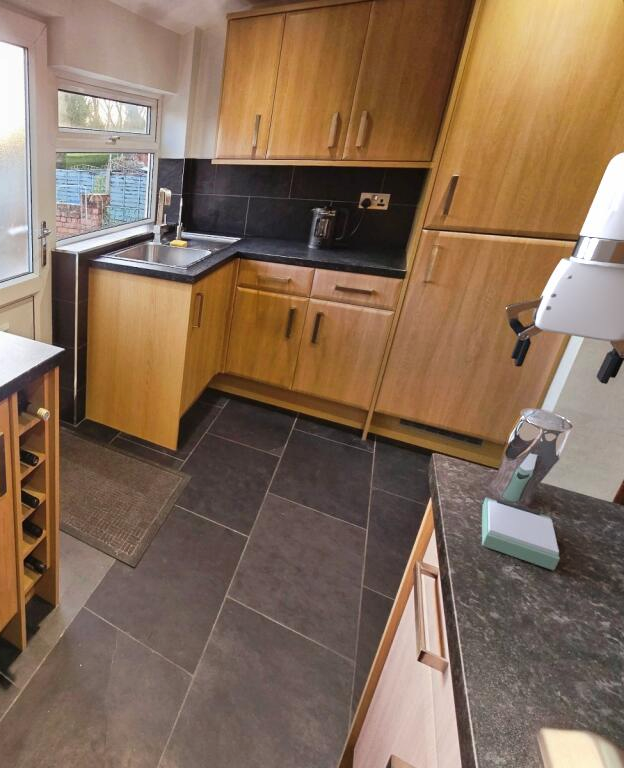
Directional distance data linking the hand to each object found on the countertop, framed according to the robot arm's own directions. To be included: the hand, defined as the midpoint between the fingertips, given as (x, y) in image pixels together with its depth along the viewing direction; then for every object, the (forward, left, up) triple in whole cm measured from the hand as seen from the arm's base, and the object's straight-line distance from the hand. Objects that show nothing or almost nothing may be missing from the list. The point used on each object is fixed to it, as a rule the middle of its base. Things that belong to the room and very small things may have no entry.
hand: (557, 372), depth 73 cm
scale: (+5, +10, -22) cm, 25 cm away
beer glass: (0, 0, -22) cm, 22 cm away
